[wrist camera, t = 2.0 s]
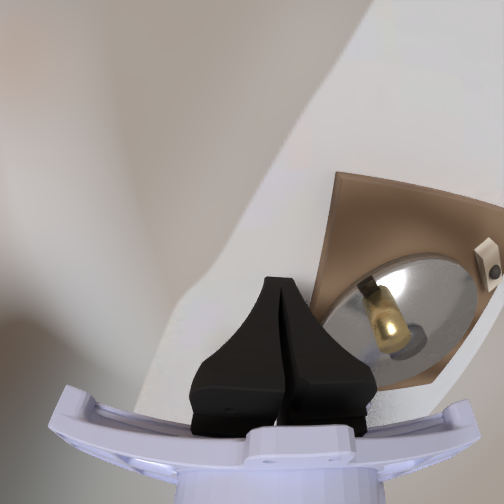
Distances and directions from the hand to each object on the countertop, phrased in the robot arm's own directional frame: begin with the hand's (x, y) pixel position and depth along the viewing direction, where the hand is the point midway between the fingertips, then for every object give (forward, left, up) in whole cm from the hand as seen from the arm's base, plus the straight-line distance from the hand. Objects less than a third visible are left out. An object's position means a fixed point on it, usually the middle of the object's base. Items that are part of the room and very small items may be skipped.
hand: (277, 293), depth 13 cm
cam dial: (-5, -10, -2) cm, 11 cm away
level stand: (-5, -11, -4) cm, 13 cm away
